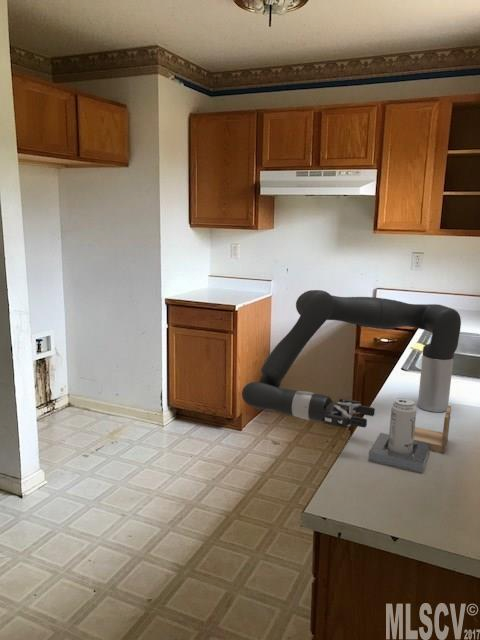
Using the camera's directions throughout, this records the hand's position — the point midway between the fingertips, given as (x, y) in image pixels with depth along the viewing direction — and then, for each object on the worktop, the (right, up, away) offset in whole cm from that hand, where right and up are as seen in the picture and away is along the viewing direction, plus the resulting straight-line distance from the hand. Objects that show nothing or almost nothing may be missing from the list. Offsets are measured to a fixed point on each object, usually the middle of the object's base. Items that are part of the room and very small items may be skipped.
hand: (370, 417), depth 137 cm
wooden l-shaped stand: (+17, -8, +6) cm, 20 cm away
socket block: (+7, -10, -2) cm, 12 cm away
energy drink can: (+7, -10, -2) cm, 12 cm away
